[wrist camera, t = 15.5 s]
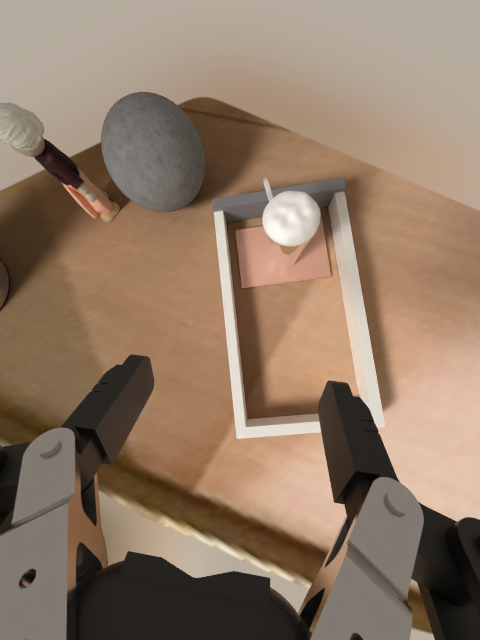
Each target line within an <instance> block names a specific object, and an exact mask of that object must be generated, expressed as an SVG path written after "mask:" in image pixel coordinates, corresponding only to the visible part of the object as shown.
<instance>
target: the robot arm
mask: <svg viewBox="0 0 480 640" xmlns="http://www.w3.org/2000/svg"><path fill="white" fill-rule="evenodd" d="M8 288H9V278H8V274H7V270H6V268H5V267H4V265H3V263H2V262H1V261H0V308H1V306H2V305H3V303H4V301H5V299H6V296H7V293H8ZM153 387H154V377H153V372H152V367H151V362H150V358H149V357H147V356H139V355H130V356H129V357H128V358H127V359H126V360H125V362H124V363H123V364H122V365H116V366H114V367H113V368H112V369H110V370H109V371H107V372H106V373H105V374H104V375H103V377H102V378H101V379H100V380H99V381H98V384H96V385H95V386H94V388H93V389H92V390H91V392H89V394H88V395H87V396H86V397H85V398H84V400H83V401H82V402H81V403H80V404H79V406H78V407H77V408H76V409H75V411H74V412H73V413H72V414H71V415H70V417H69V418H68V419H67V420H66V421H65V423H64V424H63V425H62V426H61V427H60V428H56V429H52V430H50V431H47V432H45V433H43V434H42V435H40V436H39V437H37V438H36V439H35V440H34V441H33V442H29V443H23V444H17V445H11V446H5V447H1V446H0V640H409V638H410V633H411V628H412V610H411V607H410V606H409V604H408V601H407V596H408V590H409V586H410V581H411V579H413V580H414V581H416V582H417V583H418V586H419V590H420V593H421V596H422V599H423V602H424V606H425V609H426V612H427V615H428V619H429V622H430V625H431V628H432V632H433V635H434V638H435V640H480V520H479V519H475V518H470V517H468V518H463V519H461V520H460V521H458V522H456V521H454V520H452V519H450V518H448V517H446V516H444V515H442V514H440V513H438V512H436V511H434V510H432V509H430V508H428V507H426V506H424V505H422V504H421V503H419V502H418V501H417V499H416V498H415V496H414V495H413V494H412V493H411V492H410V491H409V490H408V489H407V488H406V487H405V486H404V485H403V484H401V483H400V482H399V480H398V478H397V476H396V474H395V472H394V469H393V467H392V464H391V462H390V459H389V457H388V454H387V452H386V449H385V447H384V444H383V442H382V439H381V437H380V434H378V429H377V427H376V424H375V423H374V419H373V417H372V414H371V412H370V409H369V408H368V406H367V405H366V404H365V403H364V402H363V400H362V399H361V398H360V397H354V396H353V395H352V392H351V390H350V387H349V385H348V383H344V382H337V381H328V382H327V384H326V386H325V389H324V392H323V394H322V397H321V400H320V402H319V407H318V416H319V422H320V427H321V433H322V438H323V444H324V449H325V455H326V460H327V466H328V471H329V477H330V482H331V488H332V493H333V498H334V503H340V504H345V509H346V514H347V515H346V517H345V519H344V521H343V523H342V525H341V527H340V530H339V532H338V534H337V536H336V538H335V540H334V542H333V545H332V547H331V549H330V551H329V553H328V555H327V557H326V559H325V562H324V564H323V566H322V568H321V570H320V572H319V573H318V575H317V577H316V578H315V580H314V582H313V583H312V585H311V587H310V589H309V591H308V593H307V595H306V597H305V599H304V602H303V604H302V606H301V608H300V610H299V612H298V613H297V612H296V610H295V609H294V608H293V607H292V605H291V604H290V603H289V602H288V601H287V600H286V599H285V598H284V597H283V596H281V595H280V594H279V593H278V592H277V591H275V590H274V589H272V588H271V587H270V578H267V577H262V576H257V575H251V574H246V573H241V572H235V571H233V572H227V573H222V574H217V575H212V576H207V577H202V578H193V577H191V576H190V575H188V574H186V573H185V572H183V571H182V570H180V569H179V568H177V567H175V566H174V565H172V564H171V563H169V562H167V561H166V560H165V559H163V558H161V557H156V556H150V555H145V554H140V553H135V552H129V551H128V552H127V555H126V557H125V560H124V561H121V562H118V563H115V564H112V565H110V566H108V558H107V550H106V544H105V540H104V537H103V534H102V529H101V519H100V506H99V494H98V480H97V473H96V472H97V471H98V469H99V467H100V466H101V464H102V463H103V464H109V465H112V464H113V463H114V461H115V459H116V457H117V455H118V453H119V452H120V450H121V448H122V446H123V444H124V442H125V441H126V439H127V437H128V435H129V433H130V431H131V430H132V428H133V426H134V424H135V422H136V420H137V419H138V417H139V415H140V413H141V411H142V409H143V408H144V406H145V404H146V402H147V400H148V398H149V397H150V395H151V393H152V390H153Z"/></svg>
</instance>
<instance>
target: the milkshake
mask: <svg viewBox="0 0 480 640" xmlns="http://www.w3.org/2000/svg"><path fill="white" fill-rule="evenodd" d="M262 180H263V184H264V187H265V190H266V193H267V197H268V200H269V203H268V204H267V206H266V207H265V209H264V212H263V227H264V233H265V238H266V242H267V249H268V257H269V263H271V264H272V265H273V266H274V267H275V268H276V269H282V270H285V269H287V268H289V267H291V266H293V265H294V263H295V262H296V260H297V258H298V257H299V255H300V254H301V252H302V251H303V249H304V248H305V247H306V245H307V244H308V243H309V241H310V240H311V239H312V237H313V236H314V234H315V233H316V231H317V229H318V227H319V224H320V209H319V206H318V205H317V203H316V202H315V201H314V200H313V199H312V198H311V197H310V196H309V195H308V194H307V193H305V192H299V191H285V192H282V193H280V194H278V195H277V196H275V197H274V198H273V195H272V191H271V188H270V184H269V181H268V177H267V175H266V176H265V177H264V178H263V179H262Z"/></svg>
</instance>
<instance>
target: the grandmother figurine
mask: <svg viewBox="0 0 480 640" xmlns="http://www.w3.org/2000/svg"><path fill="white" fill-rule="evenodd" d="M43 133H44V126H43V124H42V122H41V121H40V120H39V118H38V117H37V116H36V115H35V114H34V113H32V112H30V111H28V110H25V109H23V108H21V107H19V106H18V105H15V104H13V103H0V139H1V140H2V141H3V142H5V143H6V144H9V145H10V146H12V148H13V149H15V150H16V151H18V152H19V153H21V154H23V155H26V156H30V157H33V156H34V157H35V159H36V160H37V161H38V162H39V163H40V164H41V165H42V166H43V167H44V168H45V169H46V170H47V171H48V172H50V173H51V174H52V175H53V176H55V177H56V178H57V179H58V180H59V181H60V182H61V183H62V184H63V185H64V187H65V188H66V189H67V191H68V192H69V193H70V194H71V196H72V197H73V198H74V199H75V200H76V201H77V202H78V204H79V205H80V206H81V207H82V208H83V209H84V210H85V211H86V212H87V213H88V214H89V215H91V216H92V217H93V218H97V217H98V214H99V215H100V217H101V219H102V220H104V221H105V222H110V221H112V220H113V219H114V218H115V216H116V215H117V213H118V212H119V210H120V207H119V205H118V204H117V203H115V202H111V201H110V200H109V196H108V194H107V193H106V192H104V191H101V190H100V189H99V188H98V187H97V186H96V185H94V184H93V183H92V182H91V181H89V179H88V178H87V177H86V176H85V174H84V173H83V172H82V171H81V170H80V169H79V168H78V167H77V166H76V164H75V163H74V162H73V161H72V160H71V159H70V158H69V157H68V156H67V155H65V154H64V153H63V152H61V151H60V150H58V149H57V148H56V147H55V146H54V145H53V144H51V143H50V142H49V141H47V140H45V139H43V137H42V134H43Z"/></svg>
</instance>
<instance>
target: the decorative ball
mask: <svg viewBox="0 0 480 640" xmlns="http://www.w3.org/2000/svg"><path fill="white" fill-rule="evenodd" d="M101 135H102V136H101V146H102V153H103V158H104V162H105V164H106V167H107V170H108V172H109V174H110V176H111V178H112V179H113V181H114V183H115V184H116V185H117V187H118V188H119V189H120V190H121V192H122V193H123V194H124V195H125V196H127V197H128V198H129V199H130V200H131V201H133V202H134V203H136V204H137V205H139V206H141V207H143V208H145V209H148V210H152V211H156V212H172V211H176V210H178V209H181V208H183V207H184V206H186V205H187V204H189V203H190V202H191V201H192V200H193V199H194V198H195V197H196V195H197V194H198V192H199V190H200V188H201V186H202V183H203V180H204V176H205V168H206V159H205V151H204V147H203V143H202V140H201V138H200V135H199V133H198V131H197V129H196V127H195V125H194V123H193V122H192V121H191V119H190V118H189V117H188V115H187V114H186V113H185V112H184V111H183V110H182V109H181V108H180V107H179V106H178V105H176V104H175V103H174V102H172V101H171V100H169V99H167V98H165V97H163V96H161V95H158V94H155V93H149V92H138V93H133V94H130V95H127V96H125V97H123V98H121V99H120V100H119V101H117V102H116V103H115V104H114V105H113V106H112V108H111V109H110V110H109V112H108V114H107V116H106V118H105V121H104V124H103V129H102V134H101Z"/></svg>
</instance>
